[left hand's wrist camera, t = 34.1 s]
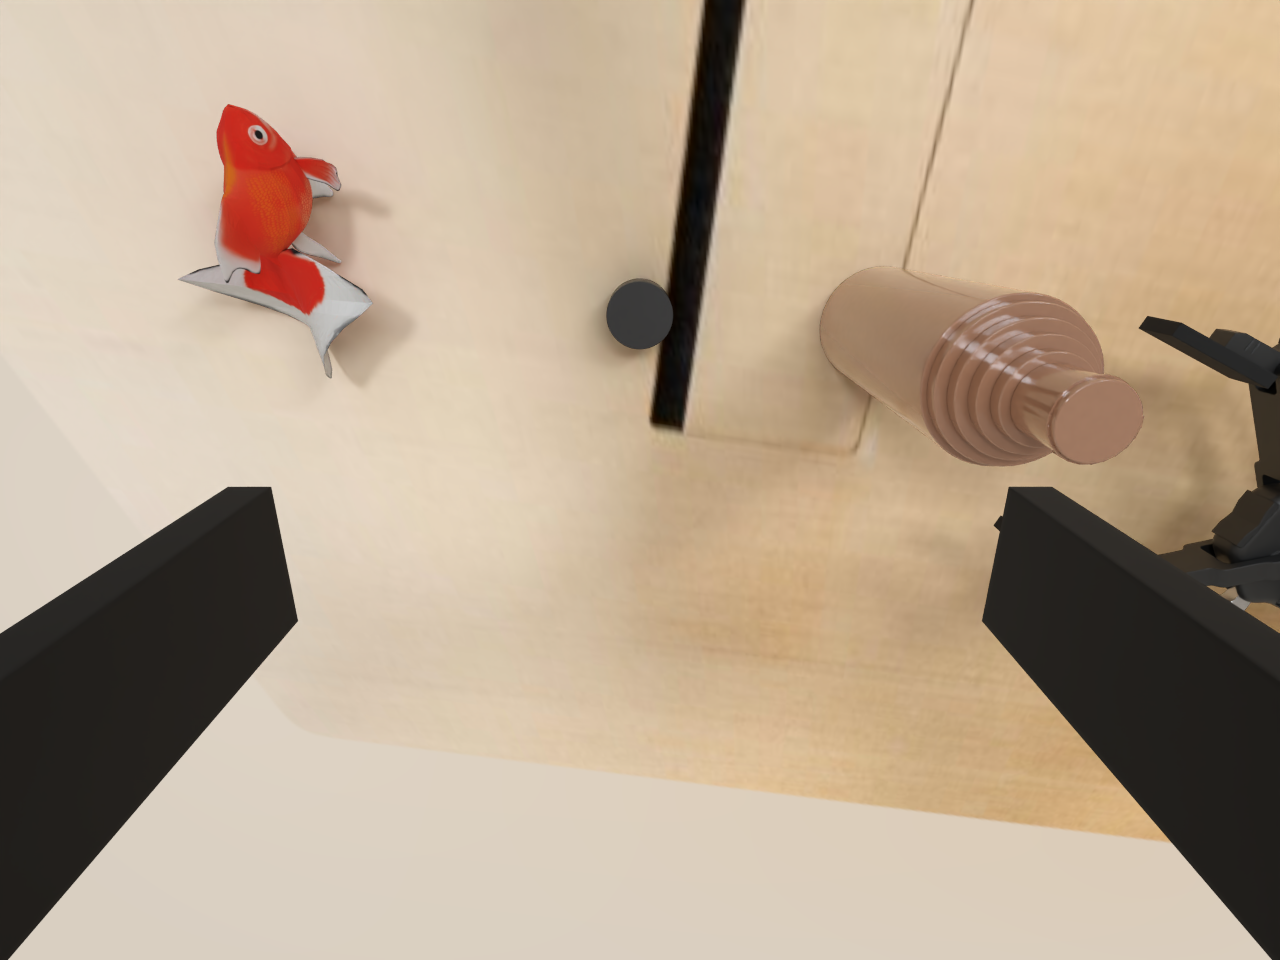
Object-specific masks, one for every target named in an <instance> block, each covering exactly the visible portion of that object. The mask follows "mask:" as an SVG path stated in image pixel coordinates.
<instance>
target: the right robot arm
mask: <svg viewBox="0 0 1280 960" xmlns="http://www.w3.org/2000/svg"><path fill="white" fill-rule="evenodd" d="M1139 329H1141V330H1143V331H1145V332H1146V333H1148V334H1150V335H1152V336H1154V337H1155V338H1157V339H1159V340H1161V341H1163V342H1165V343H1166V344H1168V345H1170V346H1172V347H1174V348H1176V349H1177V350H1179V351H1181V352H1183V353H1185V354H1187V355H1188V356H1190V357H1192V358H1194V359H1196V360H1197V361H1199V362H1201V363H1203V364H1205V365H1207V366H1208V367H1210V368H1212V369H1214V370H1216V371H1218V372H1219V373H1221V374H1223V375H1225V376H1227V377H1229V378H1231V379H1235V380H1238V381H1242V382H1245V383H1249V390H1250V397H1251V403H1252V410H1253V417H1254V424H1255V431H1256V438H1257V444H1258V451H1259V458H1260V460H1259V461H1258V462H1256V463H1255V466H1254V467H1255V473H1256V480H1257V487H1258V488H1257V489H1255V490H1253V491H1252V492H1251V491H1249V490H1247V491H1246V492H1245V493H1244V494H1243V496H1242V497H1241V498H1240V499H1239V500H1238V502H1237V504H1236V506H1235V508H1234V509H1233V511H1232V513H1230V514H1229V515H1228V516H1227V517H1225V518H1224V519H1223V520H1221V521H1220V522H1219V523H1218V524H1217V526H1216V527H1215V528H1214V529H1213V530H1212V532H1213V533H1215V535H1214V538H1213V539H1211V540H1206V541H1201V542H1196V543H1191V544H1187V545H1184V546H1183V550H1180V551H1175V552H1170V553H1165V554H1160V555H1158V556H1160V557H1162V558H1163V559H1165V560H1166V561H1168V562H1169V563H1171V564H1172V565H1174V566H1175V567H1177V568H1179V569H1180V570H1182V571H1183V572H1185V573H1186V574H1188V575H1189V576H1191V577H1193V578H1194V579H1196V580H1197V581H1199V582H1200V583H1202V584H1203V585H1205V586H1209V585H1213V586H1218V587H1226V588H1227V590H1226V591H1225V592H1224V593H1222V594H1220V595H1221V596H1222V597H1224V598H1225V599H1227V600H1228V601H1230V602H1231V603H1233V604H1234V605H1236V606H1238V607H1239V608H1241V609H1242V610H1244V611H1245V609H1246V608H1247V607H1248V605H1249V604H1250V603H1270V604H1272V605H1274V606H1276V607H1278V608H1280V339H1279V344H1278V345H1276V346H1274V347H1273V348H1271V347H1269V346H1268V345H1266V344H1264V343H1262V342H1260V341H1259V340H1257V339H1255V338H1253V337H1251V336H1250V335H1248V334H1246V333H1241V332H1236V331H1231V330H1225V329H1216V330H1215V331H1214V333H1213V334H1212V335H1211V336H1210V338H1208V337H1206V336H1204V335H1203V334H1201V333H1199V332H1197V331H1195V330H1194V329H1192V328H1190V327H1188V326H1186V325H1185V324H1183V323H1180V322H1175V321H1170V320H1165V319H1160V318H1155V317H1150V316H1147V317H1146V319H1145V320H1144V322H1143V323H1142V324H1141V326H1140V327H1139ZM1002 519H1003V517H1002V516H1000V517H999V519H998V520H997V521H996V523H995V524H994V526H995V527H996V528H997V529H998V530H999V531H1000V529H1001V524H1002Z"/></svg>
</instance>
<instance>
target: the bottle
mask: <svg viewBox="0 0 1280 960" xmlns="http://www.w3.org/2000/svg"><path fill="white" fill-rule="evenodd" d="M820 338H821V343H822V347H823V350H824V352H825V354H826V356H827V358H828V360H829V361H830V362H831V364H832V365H833V366H834V367H835V368H836V369H837V370H838V371H840V372H841V373H842V374H844V375H845V376H846V377H848V378H849V379H850V380H852V381H853V382H854V383H856V384H857V385H858V386H860V387H861V388H862V389H864V390H865V391H866V392H868V393H869V394H870V395H872V396H873V397H874V398H876V399H877V400H878V401H880V402H881V403H882V404H884V405H885V406H886V407H888V408H889V409H890V410H892V411H893V412H894V413H896V414H897V415H898V416H900V417H901V418H902V419H904V420H905V421H906V422H908V423H909V424H910V425H912V426H913V427H914V428H916V429H917V430H918V431H920V432H921V433H922V434H924V435H925V436H926V437H928V438H929V439H930V440H932V441H933V442H934V443H936V444H937V445H938V446H940V447H941V448H942V449H944V450H945V451H947V452H948V453H949V454H951V455H952V456H954V457H956V458H958V459H960V460H962V461H965V462H968V463H971V464H976V465H982V466H1014V465H1020V464H1025V463H1028V462H1031V461H1035V460H1037V459H1040V458H1042V457H1044V456H1046V455H1048V454H1050V453H1052V452H1053V453H1055V454H1056V455H1058V456H1059V457H1061V458H1063V459H1065V460H1066V461H1068V462H1072V463H1076V464H1095V463H1099V462H1104V461H1106V460H1108V459H1110V458H1112V457H1114V456H1116V455H1118V454H1119V453H1120V452H1122V451H1123V450H1124V449H1125V448H1127V447H1128V446H1129V444H1130V443H1131V442H1132V441H1133V440H1134V439H1135V438H1136V436H1137V434H1138V432H1139V430H1140V428H1141V427H1142V422H1143V418H1144V416H1143V407H1142V403H1141V400H1140V397H1139V396H1138V394H1137V392H1136V391H1135V390H1134V389H1133V388H1132V387H1131V386H1129V385H1128V383H1126V382H1125V381H1123V380H1122V379H1120V378H1118V377H1115V376H1111V375H1108V374H1104V361H1103V354H1102V350H1101V346H1100V344H1099V341H1098V339H1097V337H1096V335H1095V333H1094V332H1093V330H1092V329H1091V327H1090V326H1089V325H1088V324H1087V323H1086V321H1085V320H1084V319H1083V317H1082V316H1081V315H1080V314H1079V313H1078V312H1077V311H1076V310H1075V309H1073V308H1072V307H1071V306H1070V305H1068V304H1066V303H1065V302H1063V301H1061V300H1059V299H1057V298H1054V297H1051V296H1049V295H1044V294H1039V293H1034V292H1029V291H1023V290H1018V289H1012V288H1007V287H1001V286H995V285H990V284H984V283H979V282H973V281H968V280H962V279H957V278H951V277H945V276H940V275H934V274H929V273H923V272H918V271H912V270H906V269H901V268H895V267H887V266H880V267H873V268H868V269H865V270H862V271H860V272H858V273H856V274H854V275H852V276H851V277H849V278H847V279H846V280H845V281H844V282H843V283H841V284H840V285H839V286H838V287H837V289H836V290H835V291H834V292H833V294H832V295H831V296H830V298H829V300H828V302H827V303H826V306H825V308H824V310H823V314H822V317H821V323H820Z"/></svg>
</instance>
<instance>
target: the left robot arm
mask: <svg viewBox="0 0 1280 960" xmlns="http://www.w3.org/2000/svg"><path fill="white" fill-rule="evenodd" d="M297 622H298V619H297V614H296V609H295V604H294V599H293V594H292V589H291V584H290V579H289V574H288V569H287V564H286V559H285V554H284V549H283V544H282V539H281V534H280V529H279V524H278V519H277V514H276V509H275V504H274V499H273V494H272V489H271V487H227V488H226V489H224V490H222V491H221V492H219V493H218V494H216V495H215V496H213V497H212V498H210V499H209V500H207V501H205V502H204V503H202V504H201V505H199V506H198V507H196V508H195V509H193V510H191V511H190V512H188V513H187V514H185V515H184V516H182V517H181V518H179V519H177V520H176V521H174V522H173V523H171V524H170V525H168V526H167V527H165V528H163V529H162V530H160V531H159V532H157V533H156V534H154V535H153V536H151V537H150V538H148V539H146V540H145V541H143V542H142V543H140V544H139V545H137V546H136V547H134V548H132V549H131V550H129V551H128V552H126V553H125V554H123V555H122V556H120V557H118V558H117V559H115V560H114V561H112V562H111V563H109V564H108V565H106V566H105V567H103V568H101V569H100V570H98V571H97V572H95V573H94V574H92V575H91V576H89V577H88V578H86V579H84V580H83V581H81V582H80V583H78V584H77V585H75V586H73V587H72V588H70V589H69V590H67V591H66V592H64V593H63V594H61V595H59V596H58V597H56V598H55V599H53V600H52V601H50V602H49V603H47V604H46V605H44V606H42V607H41V608H39V609H38V610H36V611H35V612H33V613H32V614H30V615H28V616H27V617H25V618H24V619H22V620H21V621H19V622H18V623H16V624H14V625H13V626H11V627H10V628H8V629H7V630H5V631H4V632H2V633H1V634H0V960H8V959H9V958H10V957H11V956H12V954H13V953H14V952H15V951H16V950H17V949H18V947H19V946H20V945H21V944H22V943H23V942H24V940H25V939H26V938H27V937H28V936H29V935H30V933H31V932H32V931H33V930H34V929H35V928H36V926H37V925H38V924H39V923H40V922H41V920H42V919H43V918H44V917H45V916H46V915H47V914H48V912H49V911H50V910H51V909H52V908H53V907H54V905H55V904H56V903H57V902H58V901H59V899H60V898H61V897H62V896H63V895H64V894H65V892H66V891H67V890H68V889H69V888H70V887H71V885H72V884H73V883H74V882H75V881H76V880H77V878H78V877H79V876H80V875H81V874H82V873H83V871H84V870H85V869H86V868H87V867H88V866H89V864H90V863H91V862H92V861H93V860H94V859H95V857H96V856H97V855H98V854H99V853H100V852H101V850H102V849H103V848H104V847H105V846H106V845H107V843H108V842H109V841H110V840H111V839H112V838H113V836H114V835H115V834H116V833H117V832H118V831H119V829H120V828H121V827H122V826H123V825H124V824H125V822H126V821H127V820H128V819H129V818H130V817H131V815H132V814H133V813H134V812H135V811H136V810H137V808H138V807H139V806H140V805H141V804H142V803H143V801H144V800H145V799H146V798H147V797H148V796H149V794H150V793H151V792H152V791H153V790H154V789H155V787H156V786H157V785H158V784H159V783H160V781H161V780H162V779H163V778H164V777H165V776H166V775H167V773H168V772H169V771H170V770H171V769H172V767H173V766H174V765H175V764H176V763H177V762H178V760H179V759H180V758H181V757H182V756H183V755H184V753H185V752H186V751H187V750H188V749H189V748H190V746H191V745H192V744H193V743H194V742H195V741H196V739H197V738H198V737H199V736H200V735H201V734H202V732H203V731H204V730H205V729H206V728H207V727H208V725H209V724H210V723H211V722H212V721H213V720H214V718H215V717H216V716H217V715H218V714H219V713H220V711H221V710H222V709H223V708H224V707H225V706H226V704H227V703H228V702H229V701H230V700H231V699H232V697H233V696H234V695H235V694H236V693H237V692H238V690H239V689H240V688H241V687H242V686H243V685H244V683H245V682H246V681H247V680H248V679H249V678H250V676H251V675H252V674H253V673H254V672H255V671H256V669H257V668H258V667H259V666H260V665H261V664H262V662H263V661H264V660H265V659H266V658H267V657H268V655H269V654H270V653H271V652H272V651H273V650H274V648H275V647H276V646H277V645H278V644H279V643H280V641H281V640H282V639H283V638H284V637H285V636H286V634H287V633H288V632H289V631H290V630H291V629H292V627H293V626H294V625H295V624H296V623H297ZM982 622H983V623H984V624H985V625H986V626H987V627H988V629H989V630H990V631H991V632H992V633H993V634H994V636H995V637H996V638H997V639H998V640H999V641H1000V643H1001V644H1002V645H1003V646H1004V647H1005V648H1006V650H1007V651H1008V652H1009V653H1010V654H1011V655H1012V657H1013V658H1014V659H1015V660H1016V661H1017V662H1018V664H1019V665H1020V666H1021V667H1022V668H1023V669H1024V671H1025V672H1026V673H1027V674H1028V675H1029V676H1030V678H1031V679H1032V680H1033V681H1034V682H1035V683H1036V685H1037V686H1038V687H1039V688H1040V689H1041V690H1042V692H1043V693H1044V694H1045V695H1046V696H1047V697H1048V699H1049V700H1050V701H1051V702H1052V703H1053V704H1054V706H1055V707H1056V708H1057V709H1058V710H1059V711H1060V713H1061V714H1062V715H1063V716H1064V717H1065V718H1066V720H1067V721H1068V722H1069V723H1070V724H1071V725H1072V727H1073V728H1074V729H1075V730H1076V731H1077V732H1078V734H1079V735H1080V736H1081V737H1082V738H1083V740H1084V741H1085V742H1086V743H1087V744H1088V745H1089V747H1090V748H1091V749H1092V750H1093V751H1094V752H1095V754H1096V755H1097V756H1098V757H1099V758H1100V759H1101V761H1102V762H1103V763H1104V764H1105V765H1106V766H1107V768H1108V769H1109V770H1110V771H1111V772H1112V773H1113V775H1114V776H1115V777H1116V778H1117V779H1118V780H1119V782H1120V783H1121V784H1122V785H1123V786H1124V787H1125V789H1126V790H1127V791H1128V792H1129V793H1130V794H1131V796H1132V797H1133V798H1134V799H1135V800H1136V801H1137V803H1138V804H1139V805H1140V806H1141V807H1142V808H1143V810H1144V811H1145V812H1146V813H1147V814H1148V815H1149V817H1150V818H1151V819H1152V820H1153V821H1154V822H1155V824H1156V825H1157V826H1158V827H1159V828H1160V829H1161V831H1162V832H1163V833H1164V834H1165V835H1166V836H1167V838H1168V839H1169V840H1170V841H1171V842H1172V843H1173V845H1174V846H1175V847H1176V848H1177V849H1178V850H1179V852H1180V853H1181V854H1182V855H1183V856H1184V857H1185V859H1186V860H1187V861H1188V862H1189V863H1190V864H1191V866H1192V867H1193V868H1194V869H1195V870H1196V871H1197V873H1198V874H1199V875H1200V876H1201V877H1202V878H1203V880H1204V881H1205V882H1206V883H1207V884H1208V885H1209V887H1210V888H1211V889H1212V890H1213V891H1214V892H1215V894H1216V895H1217V896H1218V897H1219V898H1220V899H1221V901H1222V902H1223V903H1224V904H1225V905H1226V907H1227V908H1228V909H1229V910H1230V911H1231V912H1232V913H1233V915H1234V916H1235V917H1236V918H1237V919H1238V921H1239V922H1240V923H1241V924H1242V925H1243V926H1244V928H1245V929H1246V930H1247V931H1248V932H1249V933H1250V934H1251V936H1252V937H1253V938H1254V939H1255V940H1256V942H1257V943H1258V944H1259V945H1260V946H1261V947H1262V949H1263V950H1264V951H1265V952H1266V953H1267V954H1268V956H1269V957H1270V958H1271V959H1272V960H1280V633H1278V632H1276V631H1275V630H1273V629H1272V628H1270V627H1269V626H1267V625H1266V624H1264V623H1262V622H1261V621H1259V620H1258V619H1256V618H1255V617H1253V616H1252V615H1250V614H1248V613H1247V612H1245V611H1244V610H1242V609H1241V608H1239V607H1238V606H1236V605H1234V604H1233V603H1231V602H1230V601H1228V600H1227V599H1225V598H1224V597H1222V596H1221V595H1219V594H1217V593H1216V592H1214V591H1213V590H1211V589H1210V588H1208V587H1207V586H1205V585H1203V584H1202V583H1200V582H1199V581H1197V580H1196V579H1194V578H1193V577H1191V576H1189V575H1188V574H1186V573H1185V572H1183V571H1182V570H1180V569H1179V568H1177V567H1175V566H1174V565H1172V564H1171V563H1169V562H1168V561H1166V560H1165V559H1163V558H1162V557H1160V556H1158V555H1157V554H1155V553H1154V552H1152V551H1151V550H1149V549H1148V548H1146V547H1144V546H1143V545H1141V544H1140V543H1138V542H1137V541H1135V540H1134V539H1132V538H1130V537H1129V536H1127V535H1126V534H1124V533H1123V532H1121V531H1120V530H1118V529H1117V528H1115V527H1113V526H1112V525H1110V524H1109V523H1107V522H1106V521H1104V520H1103V519H1101V518H1099V517H1098V516H1096V515H1095V514H1093V513H1092V512H1090V511H1089V510H1087V509H1085V508H1084V507H1082V506H1081V505H1079V504H1078V503H1076V502H1075V501H1073V500H1071V499H1070V498H1068V497H1067V496H1065V495H1064V494H1062V493H1061V492H1059V491H1058V490H1056V489H1054V488H1053V487H1009V489H1008V494H1007V499H1006V504H1005V509H1004V514H1003V519H1002V524H1001V529H1000V534H999V539H998V544H997V549H996V554H995V559H994V564H993V569H992V574H991V579H990V584H989V589H988V594H987V599H986V604H985V609H984V614H983V619H982Z"/></svg>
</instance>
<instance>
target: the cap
mask: <svg viewBox="0 0 1280 960" xmlns="http://www.w3.org/2000/svg"><path fill="white" fill-rule="evenodd" d="M672 321H673V310H672V305H671V303H670V300H669V297H668V295H667V294H666V292H665V291H664V290H663V288H662V287H660V286H659V285H658V284H656V283H655V282H653V281H650V280H647V279H632V280H629V281H627V282H625V283H623V284H622V285H620V286H619V287H618V288H617V289H616V290H615V291H614V293H613V295H612V296H611V299H610V301H609V304H608V307H607V323H608V327H609V329H610V331H611V333H612V335H613V336H614V337H615V338H616V339H617V341H619V342H620V343H621V344H623V345H625V346H627V347H629V348H633V349H646V348H650V347H653V346H655V345H657V344H658V343H660V342H661V341H662V340H663V339H664V338H665V337H666V335H667V334H668V332H669V330H670V328H671V325H672Z"/></svg>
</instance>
